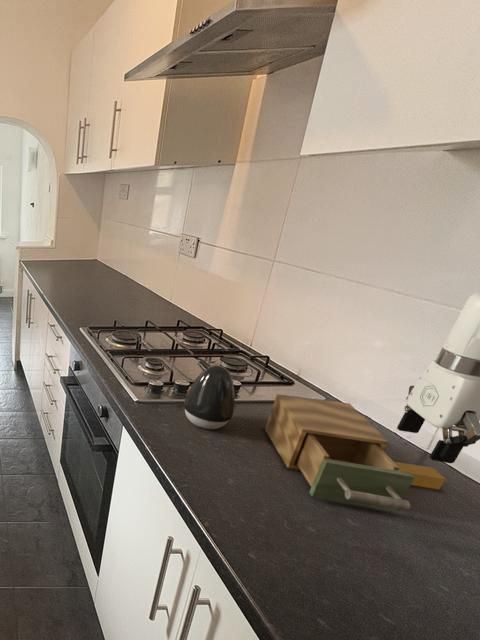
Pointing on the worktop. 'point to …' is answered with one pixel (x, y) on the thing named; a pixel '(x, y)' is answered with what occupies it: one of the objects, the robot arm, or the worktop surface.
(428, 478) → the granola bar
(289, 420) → the cabinet
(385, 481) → the drawer
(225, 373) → the dark grey egg ornament
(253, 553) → the worktop surface
